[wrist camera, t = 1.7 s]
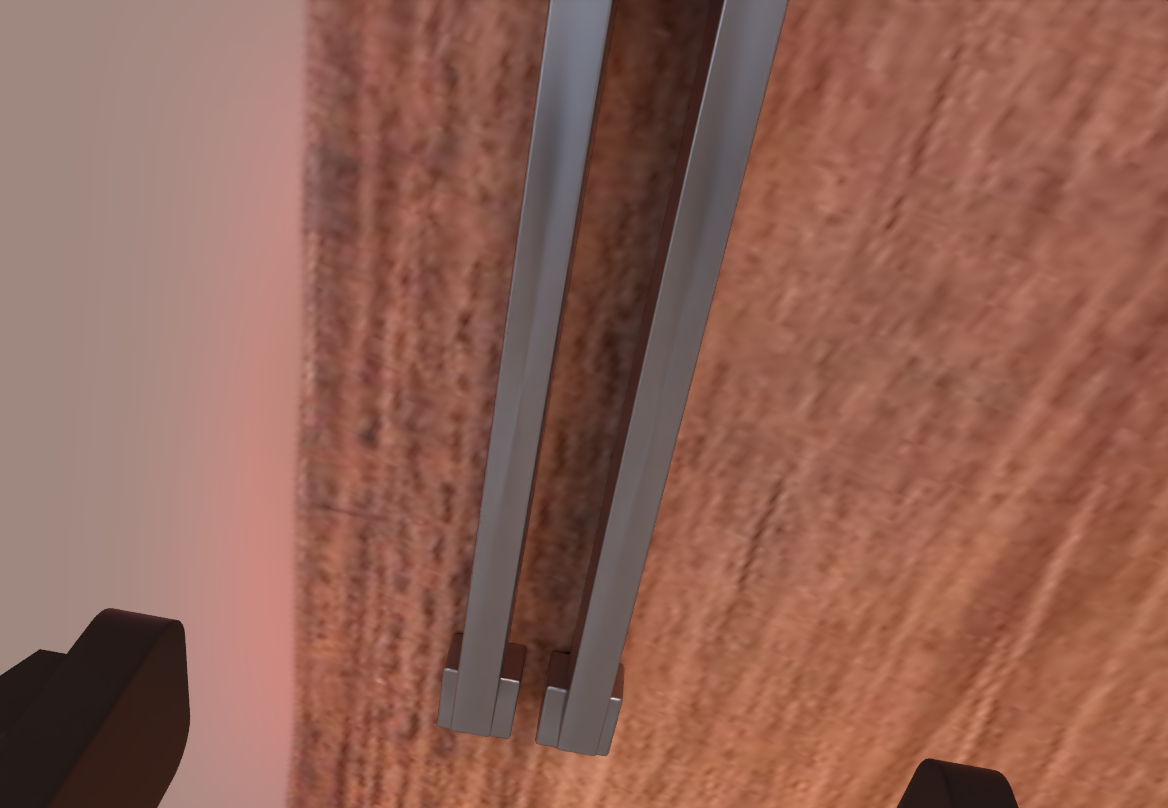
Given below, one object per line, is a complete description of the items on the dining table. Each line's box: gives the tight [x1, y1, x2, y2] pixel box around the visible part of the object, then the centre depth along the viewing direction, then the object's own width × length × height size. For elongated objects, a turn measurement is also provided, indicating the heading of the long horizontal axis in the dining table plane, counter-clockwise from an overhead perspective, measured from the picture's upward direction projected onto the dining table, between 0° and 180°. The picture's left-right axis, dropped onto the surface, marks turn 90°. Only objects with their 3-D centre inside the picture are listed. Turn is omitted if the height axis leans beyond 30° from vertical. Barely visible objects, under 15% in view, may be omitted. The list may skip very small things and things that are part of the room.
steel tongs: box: [437, 0, 789, 756], centre depth 18 cm, size 20×4×2 cm, turn 171°
